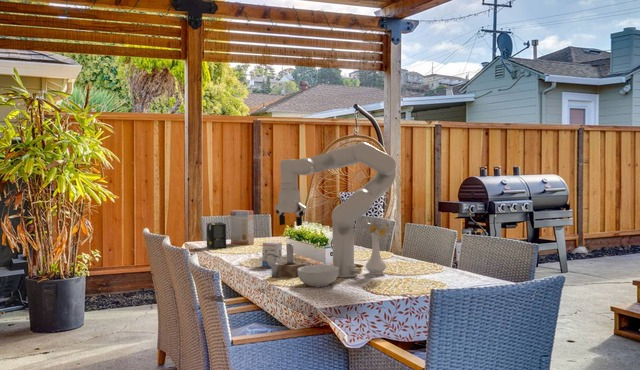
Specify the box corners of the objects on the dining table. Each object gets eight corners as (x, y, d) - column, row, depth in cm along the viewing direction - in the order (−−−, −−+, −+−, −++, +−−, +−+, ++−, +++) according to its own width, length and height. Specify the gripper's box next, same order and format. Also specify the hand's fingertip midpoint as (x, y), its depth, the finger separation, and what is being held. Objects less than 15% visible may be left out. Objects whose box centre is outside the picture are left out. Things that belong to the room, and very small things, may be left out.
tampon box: (206, 247, 356) (205, 222, 355) (221, 246, 360) (221, 221, 359) (211, 249, 346) (210, 224, 345) (226, 248, 350) (226, 223, 349)
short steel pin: (279, 277, 262) (279, 263, 262) (275, 278, 260) (275, 264, 259) (274, 276, 264) (274, 262, 264) (270, 277, 261) (269, 263, 261)
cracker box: (254, 244, 366) (253, 210, 365) (248, 245, 361) (247, 211, 360) (236, 242, 374) (236, 209, 373) (230, 243, 369) (229, 210, 368)
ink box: (261, 266, 290) (261, 242, 289) (267, 264, 294) (267, 240, 293) (276, 267, 286) (276, 243, 285) (282, 265, 290) (282, 241, 289)
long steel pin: (290, 276, 264) (290, 244, 264) (285, 275, 266) (285, 244, 265) (295, 274, 267) (294, 243, 266) (289, 274, 268) (289, 243, 268)
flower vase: (375, 278, 256) (374, 221, 255) (355, 271, 273) (354, 217, 272) (401, 276, 262) (400, 219, 260) (379, 269, 278) (379, 216, 277)
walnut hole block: (304, 274, 267) (304, 263, 266) (293, 277, 260) (293, 266, 260) (287, 272, 272) (287, 261, 272) (275, 275, 266) (275, 264, 266)
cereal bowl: (315, 279, 256) (315, 263, 256) (346, 284, 246) (346, 267, 246) (289, 286, 243) (289, 268, 243) (320, 291, 233) (320, 273, 232)
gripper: (269, 187, 267) (270, 225, 267) (299, 187, 256) (300, 227, 257) (280, 186, 273) (281, 223, 273) (309, 186, 262) (311, 225, 263)
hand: (290, 225), depth 265 cm, fingers open, 9 cm apart
